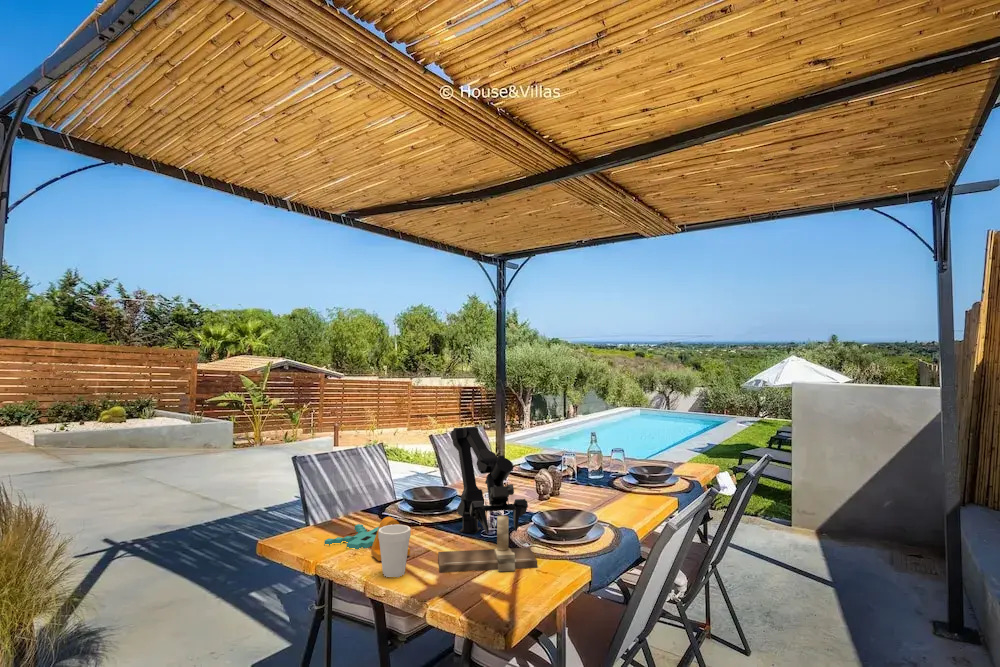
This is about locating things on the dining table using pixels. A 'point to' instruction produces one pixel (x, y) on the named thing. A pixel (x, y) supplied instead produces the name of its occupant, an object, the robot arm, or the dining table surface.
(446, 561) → the walnut board
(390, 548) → the foam cup
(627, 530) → the dining table surface
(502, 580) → the dining table surface
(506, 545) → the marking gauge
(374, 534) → the alien figure
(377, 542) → the bracket
